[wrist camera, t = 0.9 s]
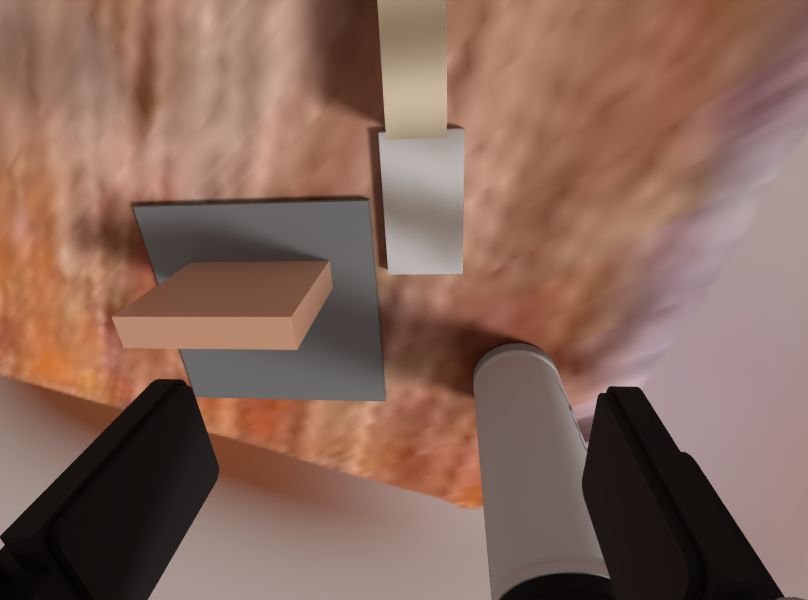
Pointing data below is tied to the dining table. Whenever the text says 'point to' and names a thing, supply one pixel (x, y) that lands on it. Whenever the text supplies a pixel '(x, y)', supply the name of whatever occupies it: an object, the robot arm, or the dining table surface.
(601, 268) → the dining table surface
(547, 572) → the travel mug
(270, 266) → the tile
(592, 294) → the dining table surface
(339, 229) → the grey square plate
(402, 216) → the beige rectangular bar
